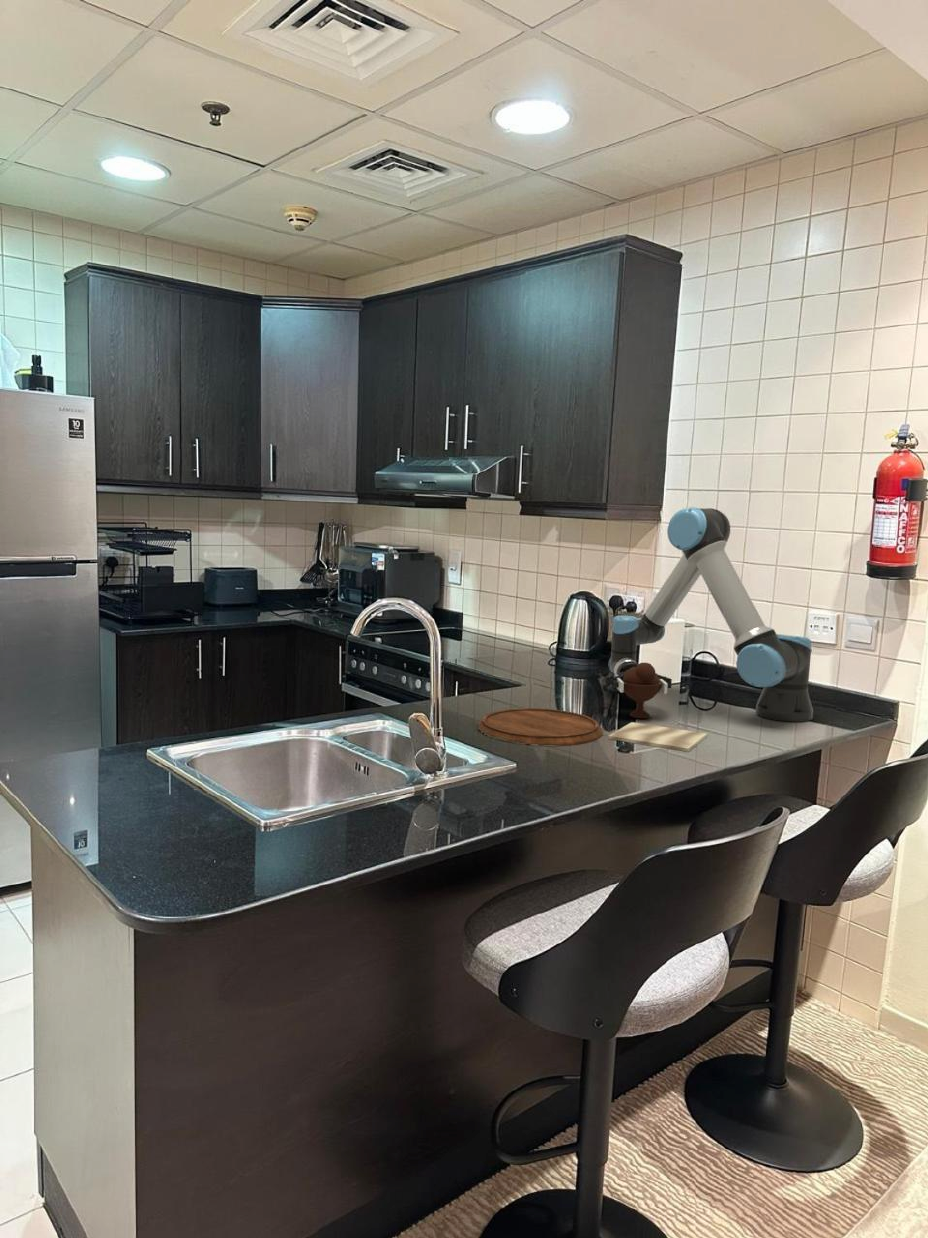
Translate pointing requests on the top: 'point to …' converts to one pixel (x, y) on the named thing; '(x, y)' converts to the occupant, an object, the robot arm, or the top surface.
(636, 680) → the chocolate ice cream sundae
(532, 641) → the top surface
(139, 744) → the top surface
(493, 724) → the cutting board
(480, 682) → the top surface
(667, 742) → the birch pad
